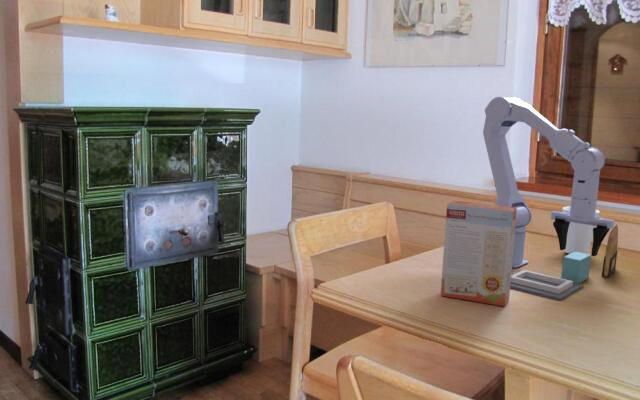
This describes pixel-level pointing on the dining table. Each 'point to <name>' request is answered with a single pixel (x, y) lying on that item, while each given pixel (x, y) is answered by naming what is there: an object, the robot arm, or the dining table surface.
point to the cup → (579, 235)
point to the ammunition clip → (610, 253)
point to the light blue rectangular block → (576, 267)
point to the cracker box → (478, 252)
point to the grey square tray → (543, 285)
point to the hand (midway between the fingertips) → (578, 252)
